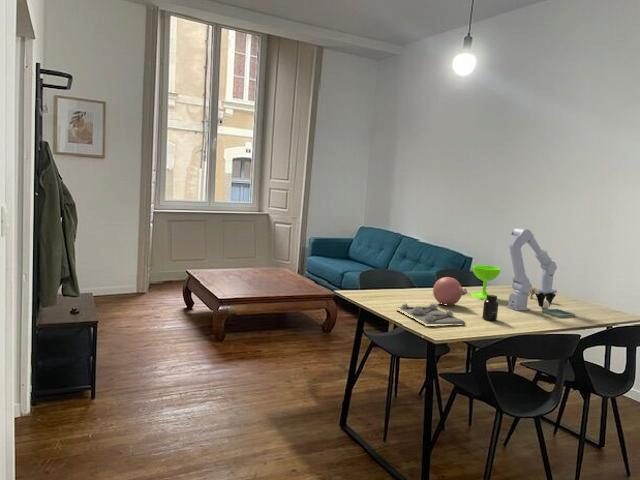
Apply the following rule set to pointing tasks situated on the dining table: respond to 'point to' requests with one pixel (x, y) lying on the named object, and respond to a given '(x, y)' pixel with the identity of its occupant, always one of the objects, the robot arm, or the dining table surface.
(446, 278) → the balloon
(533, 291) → the lion figurine
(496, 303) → the supplement bottle
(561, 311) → the tray
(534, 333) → the dining table surface
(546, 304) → the ball
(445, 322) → the grey bumpy flat slab
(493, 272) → the wineglass
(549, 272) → the robot arm
